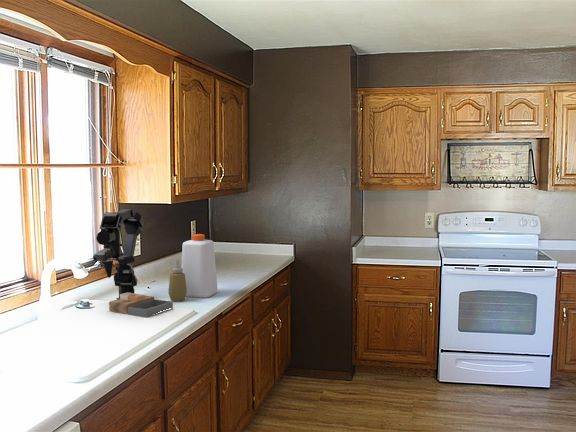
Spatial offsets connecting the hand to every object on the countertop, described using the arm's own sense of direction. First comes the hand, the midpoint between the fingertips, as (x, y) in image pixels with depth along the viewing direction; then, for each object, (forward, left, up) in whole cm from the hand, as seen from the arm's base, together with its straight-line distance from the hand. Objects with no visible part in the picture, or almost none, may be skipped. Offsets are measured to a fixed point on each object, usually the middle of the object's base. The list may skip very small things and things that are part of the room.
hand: (114, 278), depth 250 cm
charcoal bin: (+20, 0, -12) cm, 23 cm away
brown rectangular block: (+10, 0, -12) cm, 16 cm away
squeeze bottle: (+17, +21, -12) cm, 30 cm away
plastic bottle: (+18, +35, -12) cm, 41 cm away
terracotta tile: (+13, 0, -8) cm, 15 cm away
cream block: (+8, 0, -8) cm, 11 cm away
